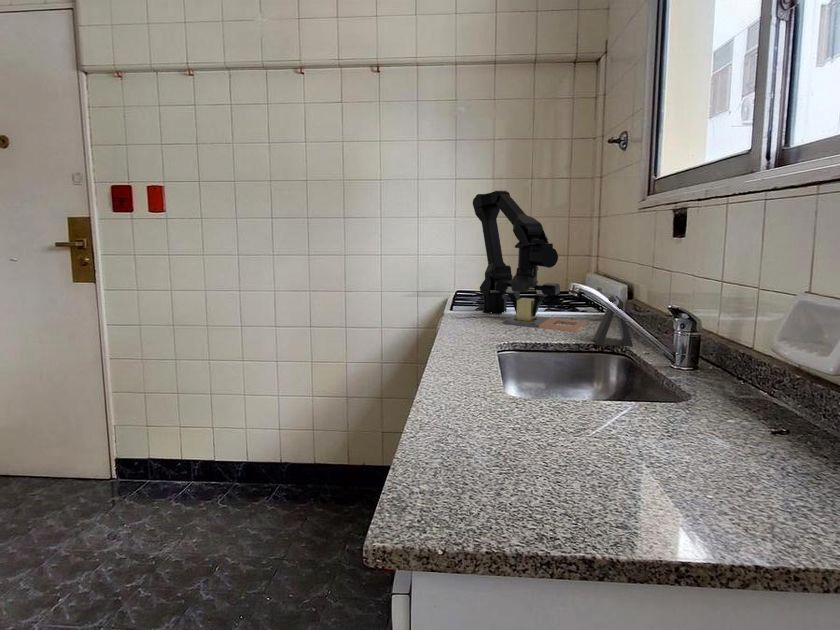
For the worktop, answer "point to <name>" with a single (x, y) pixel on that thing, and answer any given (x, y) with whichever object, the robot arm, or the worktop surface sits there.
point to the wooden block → (525, 310)
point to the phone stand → (605, 326)
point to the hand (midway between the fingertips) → (525, 315)
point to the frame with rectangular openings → (548, 323)
